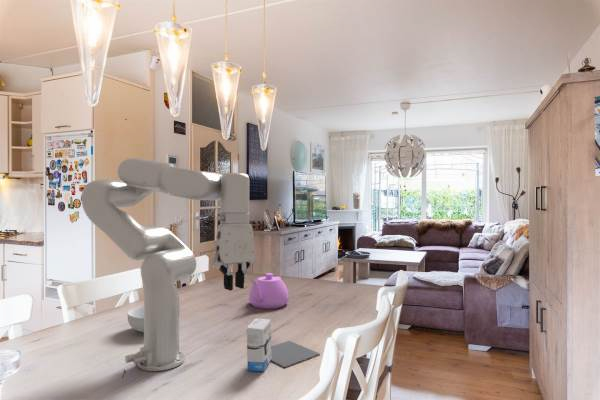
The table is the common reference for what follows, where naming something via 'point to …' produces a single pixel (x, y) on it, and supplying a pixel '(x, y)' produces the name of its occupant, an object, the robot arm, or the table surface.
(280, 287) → the teapot
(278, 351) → the mat
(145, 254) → the robot arm
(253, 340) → the ink box
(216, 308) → the table surface
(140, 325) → the cereal bowl
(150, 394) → the table surface
